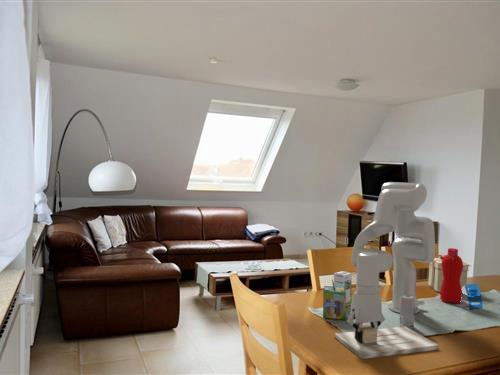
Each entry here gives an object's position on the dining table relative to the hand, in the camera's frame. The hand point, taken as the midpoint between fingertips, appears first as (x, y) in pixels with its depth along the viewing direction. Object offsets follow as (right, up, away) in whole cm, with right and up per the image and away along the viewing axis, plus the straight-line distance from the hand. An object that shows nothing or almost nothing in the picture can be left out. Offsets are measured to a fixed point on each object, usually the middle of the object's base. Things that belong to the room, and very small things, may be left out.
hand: (365, 340), depth 148 cm
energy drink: (+21, -2, +19) cm, 29 cm away
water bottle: (+55, -1, +53) cm, 76 cm away
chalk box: (-5, -1, +30) cm, 30 cm away
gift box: (+64, 0, +75) cm, 98 cm away
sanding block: (0, 0, 0) cm, 0 cm away
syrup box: (+2, 0, +46) cm, 46 cm away
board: (+8, -2, +2) cm, 8 cm away
